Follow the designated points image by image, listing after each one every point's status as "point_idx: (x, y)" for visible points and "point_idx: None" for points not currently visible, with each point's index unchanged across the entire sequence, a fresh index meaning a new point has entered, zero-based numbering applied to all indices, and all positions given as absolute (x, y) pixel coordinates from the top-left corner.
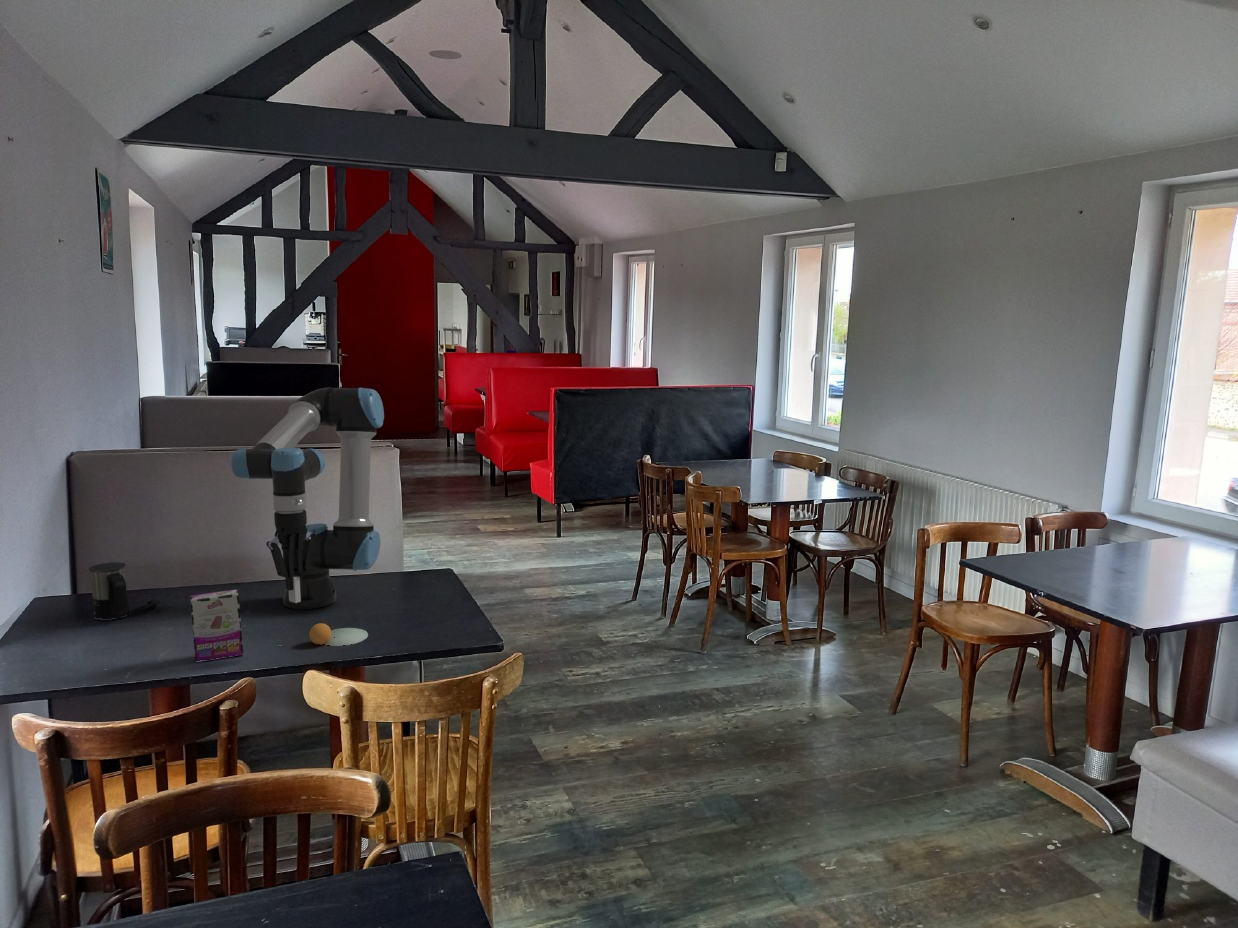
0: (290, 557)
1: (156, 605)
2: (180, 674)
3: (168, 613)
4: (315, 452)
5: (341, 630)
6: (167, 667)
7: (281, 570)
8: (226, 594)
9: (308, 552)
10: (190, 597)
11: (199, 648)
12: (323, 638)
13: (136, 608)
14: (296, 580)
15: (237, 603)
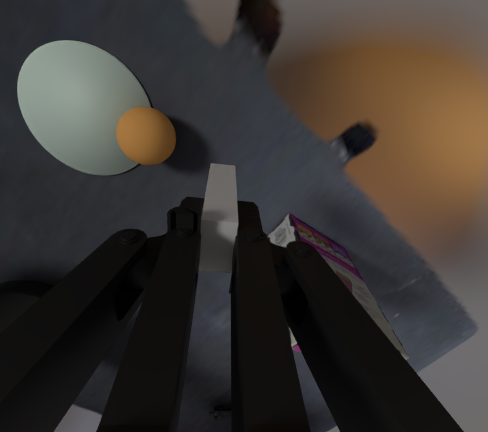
0: (274, 361)
1: (218, 409)
2: (391, 231)
3: (218, 390)
4: None
5: (69, 151)
6: (371, 266)
7: (338, 282)
8: None
9: (20, 361)
10: None
11: (350, 261)
12: (156, 110)
13: None
14: (223, 212)
15: None
